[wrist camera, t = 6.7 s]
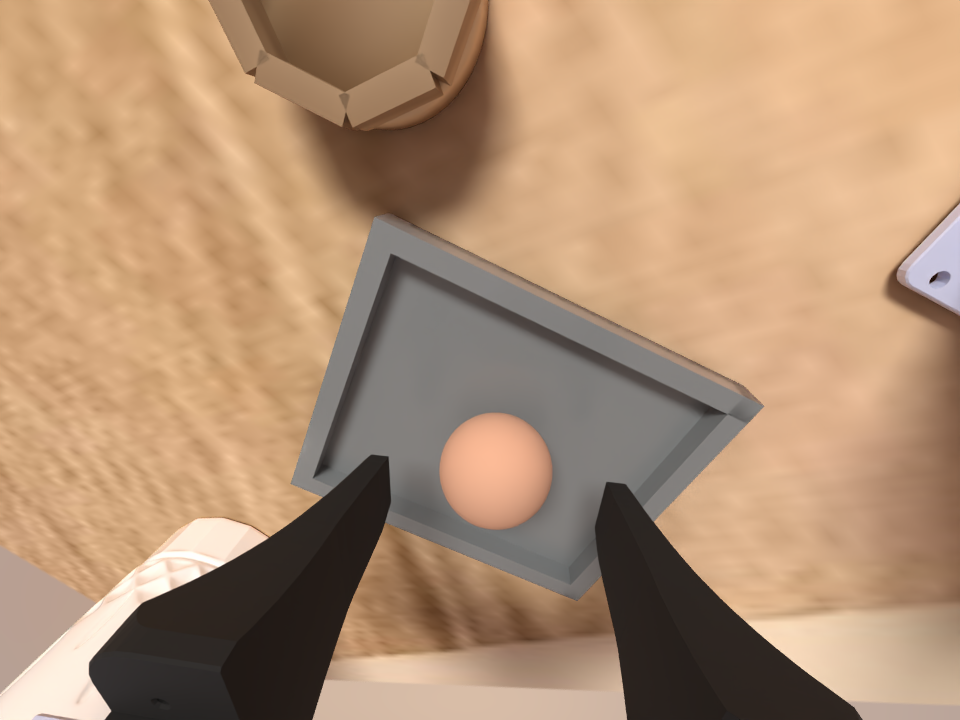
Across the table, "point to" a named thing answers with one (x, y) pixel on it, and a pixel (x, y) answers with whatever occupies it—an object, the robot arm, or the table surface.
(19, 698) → the white cup
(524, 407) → the tray
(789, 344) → the table surface
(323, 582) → the robot arm
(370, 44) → the egg cup
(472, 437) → the ball
